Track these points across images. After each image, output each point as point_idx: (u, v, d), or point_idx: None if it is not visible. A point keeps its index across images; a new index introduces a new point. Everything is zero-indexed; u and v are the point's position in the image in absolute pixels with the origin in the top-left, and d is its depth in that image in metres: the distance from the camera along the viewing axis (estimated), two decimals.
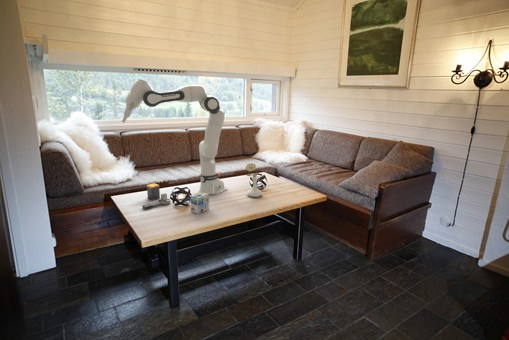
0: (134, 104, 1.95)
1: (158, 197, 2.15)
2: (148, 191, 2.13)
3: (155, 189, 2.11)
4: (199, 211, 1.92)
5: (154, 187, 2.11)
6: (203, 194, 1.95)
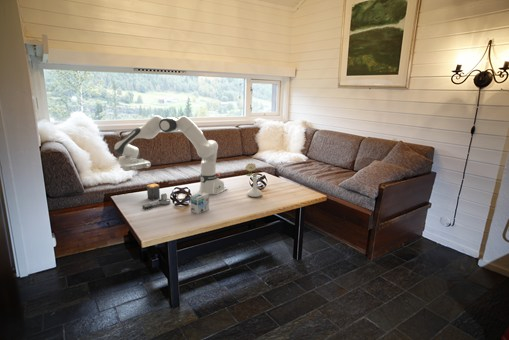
0: (127, 163, 2.23)
1: (158, 197, 2.15)
2: (148, 191, 2.13)
3: (155, 189, 2.11)
4: (199, 211, 1.92)
5: (154, 187, 2.11)
6: (203, 194, 1.95)
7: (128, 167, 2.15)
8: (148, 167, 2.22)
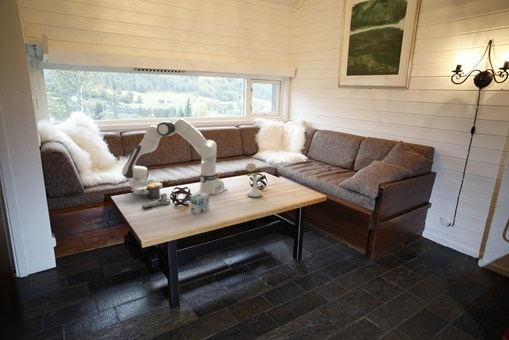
0: None
1: (158, 197, 2.15)
2: None
3: (155, 189, 2.11)
4: (199, 211, 1.92)
5: (154, 187, 2.11)
6: (203, 194, 1.95)
7: (140, 190, 2.10)
8: None
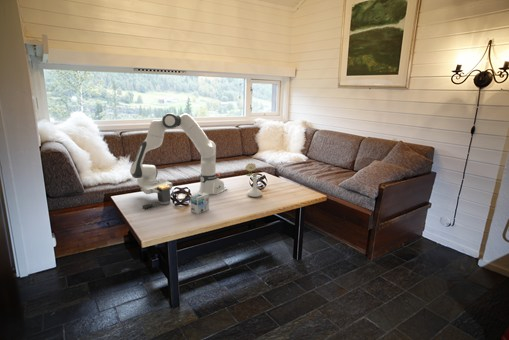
0: (147, 185, 2.09)
1: (169, 199, 2.06)
2: (158, 193, 2.04)
3: (165, 190, 2.03)
4: (199, 211, 1.92)
5: (165, 189, 2.02)
6: (203, 194, 1.95)
7: (150, 190, 2.01)
8: (170, 189, 2.08)
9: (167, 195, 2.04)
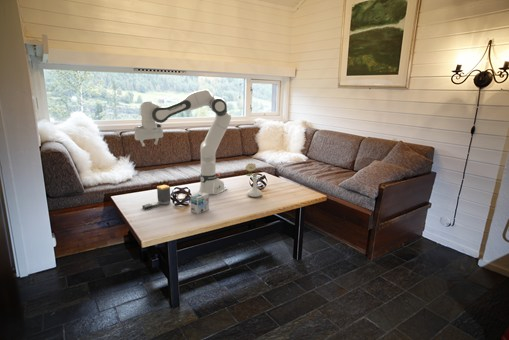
0: (144, 126, 2.04)
1: (169, 199, 2.06)
2: (158, 193, 2.04)
3: (165, 190, 2.03)
4: (199, 211, 1.92)
5: (165, 189, 2.02)
6: (203, 194, 1.95)
7: None
8: None
9: (167, 195, 2.04)
